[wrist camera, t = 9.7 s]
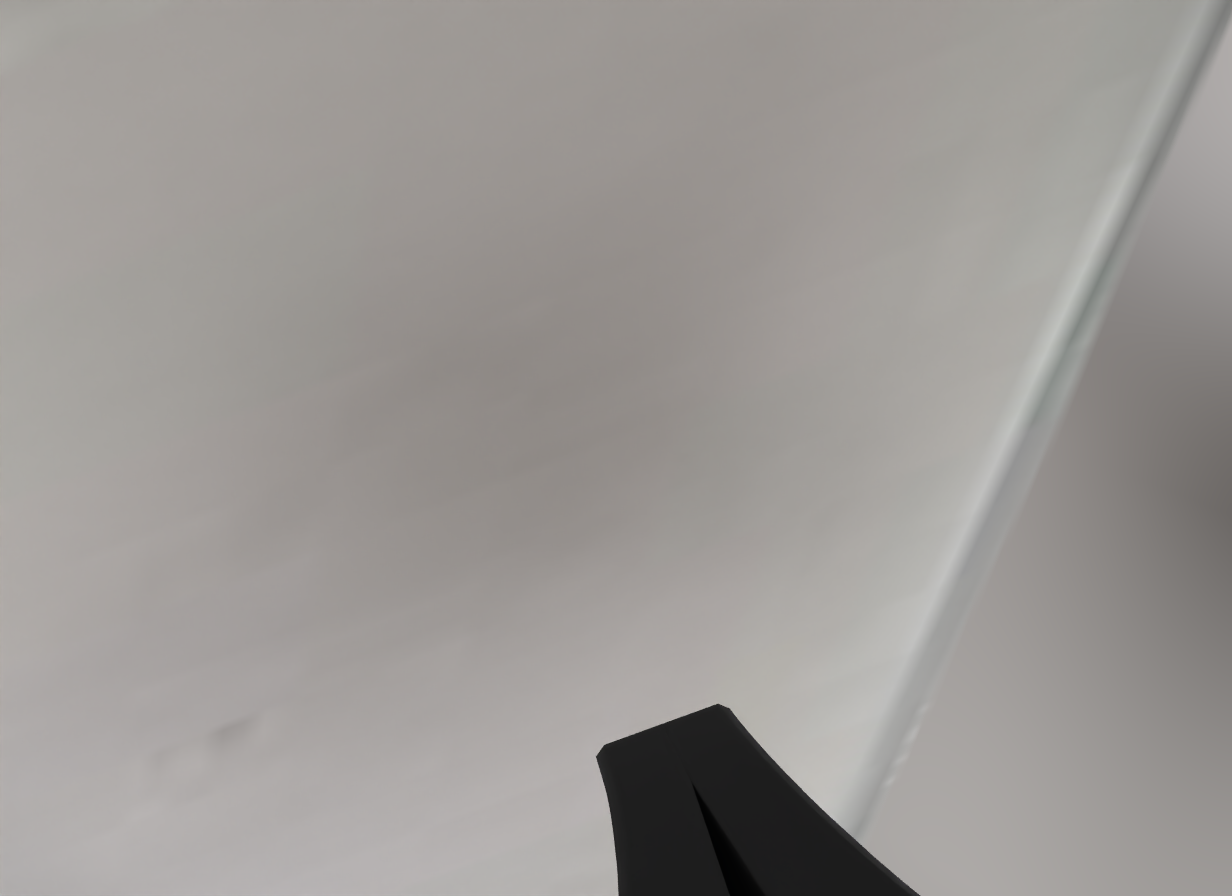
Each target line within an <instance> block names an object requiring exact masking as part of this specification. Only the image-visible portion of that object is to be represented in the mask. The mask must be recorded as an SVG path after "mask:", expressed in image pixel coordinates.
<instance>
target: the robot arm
mask: <svg viewBox="0 0 1232 896" xmlns="http://www.w3.org/2000/svg"><path fill="white" fill-rule="evenodd" d="M596 758H597V762H598V765H599V768H600V772H601V775H602V778H603V782H604V785H605V788H606V793H607V797H608V802H609V807H610V813H611V819H612V826H613V833H614V843H615V852H616V861H617V871H618V891H619V896H920V895H919V894H917V893H916V892H915V891H914V890H913V889H911V888H910V887H909V886H908V885H906V884H905V883H904V882H903V881H902V880H900V879H899V878H898V877H897V876H896V875H894V874H893V873H892V872H891V871H890V870H889V869H888V868H886V867H885V866H884V865H883V864H881V863H880V862H879V861H878V860H877V859H876V858H874V857H873V856H872V855H871V854H870V853H869V852H868V851H867V850H866V849H865V848H864V847H863V846H862V845H860V844H859V843H858V842H857V841H856V840H855V839H854V838H853V837H852V836H851V835H849V834H848V833H847V832H846V831H845V830H844V829H843V828H842V827H841V826H840V825H838V824H837V823H836V822H835V821H834V820H833V819H832V818H831V817H830V816H829V815H828V814H826V813H825V812H824V811H823V810H822V809H821V808H820V807H819V806H818V805H817V804H816V803H815V802H814V801H813V800H812V799H811V798H810V797H809V796H808V795H807V794H806V793H805V792H804V791H803V790H802V789H801V788H800V787H799V786H798V785H797V784H796V783H795V782H794V781H793V780H792V779H791V778H790V777H789V776H788V775H787V774H786V773H785V772H784V771H783V770H782V769H781V768H780V767H779V765H778V764H777V763H776V762H775V761H774V760H773V759H772V758H771V757H770V756H769V755H768V754H767V753H766V751H765V750H764V749H763V748H762V747H761V746H760V745H759V744H758V742H757V741H756V740H755V739H754V738H753V737H752V736H751V734H750V733H749V732H748V731H747V730H746V728H745V727H744V726H743V725H742V724H741V722H740V721H739V720H738V719H737V717H736V716H735V715H734V714H733V712H732V711H731V710H730V708H727V707H725V706H722V705H720V704H716V705H713V706H710V707H708V708H705V709H702V710H699V711H697V712H694V713H691V714H688V715H686V716H683V717H680V718H677V719H675V720H672V721H669V722H666V723H664V724H661V725H658V726H655V727H653V728H650V729H647V730H644V731H642V732H639V733H636V734H633V735H631V736H628V737H625V738H622V739H619V740H617V741H614V742H611V743H608V744H606V745H604V746H603V748H602V749H601V750H600V752H599V753H598V755H597V756H596Z"/></svg>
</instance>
